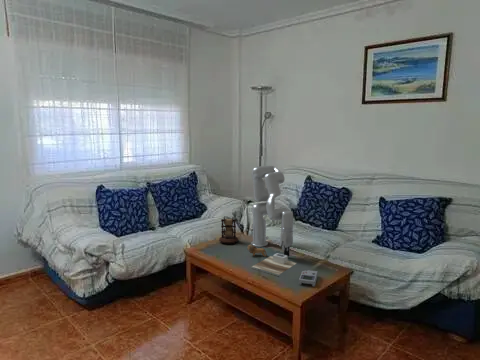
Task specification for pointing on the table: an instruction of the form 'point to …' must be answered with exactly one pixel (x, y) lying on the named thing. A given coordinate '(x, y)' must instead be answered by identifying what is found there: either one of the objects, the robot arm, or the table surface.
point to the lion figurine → (256, 250)
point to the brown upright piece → (228, 231)
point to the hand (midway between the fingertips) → (286, 255)
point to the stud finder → (280, 258)
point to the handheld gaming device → (308, 277)
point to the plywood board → (273, 266)
